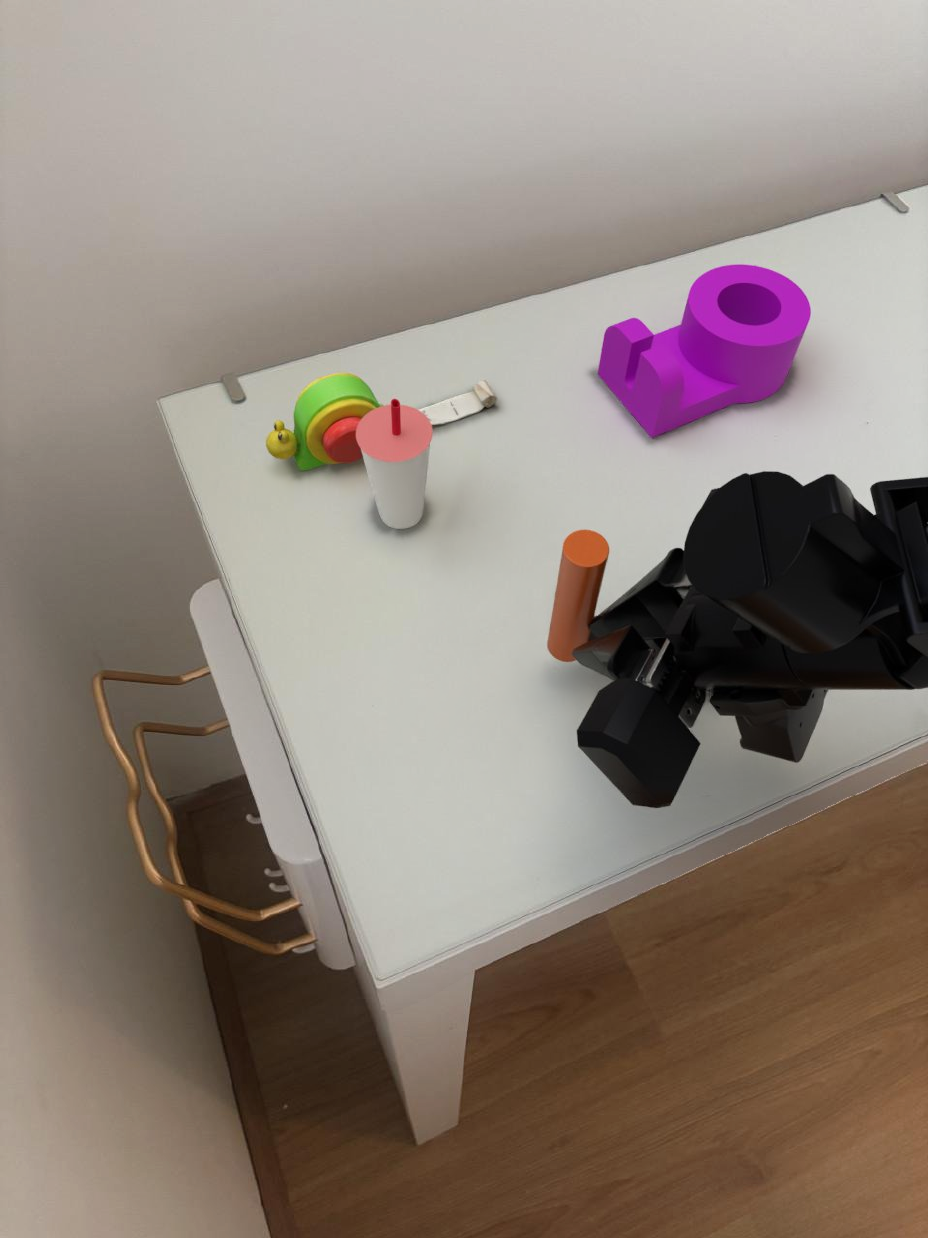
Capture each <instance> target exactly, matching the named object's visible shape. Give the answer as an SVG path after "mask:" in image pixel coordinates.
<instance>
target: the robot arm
mask: <svg viewBox="0 0 928 1238" xmlns="http://www.w3.org/2000/svg"><path fill="white" fill-rule="evenodd" d="M869 492H870V494H871V499H872V503H873V508H874V511H875V514H874V513H872V512H871V511H870V510H869V509H868V508H866V506H864V505H863V504H862V503H861V502H860V501H858V500H857V499H856V497H855V496H854V493H853V492H852V489H851V488H850V487H849V486H848V485H847V484H846V483H845V482H844V481H842V479H841V478H840V477H838V476H837V475H836V474H835V473H826V474H824V475H822V476H820V477H818V478H816V479H814V480H812V481H810V482H809V483H806V484H802V483H801V482H799V481H798V480H797V479H795V478H794V477H793V476H791V475H789V474H787V473H784V472H780V471H773V470H772V471H771V470H770V471H766V470H763V471H759V472H756V473H751V474H750V473H747V472H745V473H742V474H739V475H738V476H735V477H733V478H732V479H730V480H728V481H727V482H726V483H724V484H723V485H721V486H720V487H717V488H713V489H711V490H710V492H708V495H707V497H706V498H705V501H704V502H703V504H702V506H701V507H700V509H699V510H698V511H697V512H696V514H695V517H694V518H693V520H692V521H691V524H690V525H689V528H688V531H687V534H686V537H685V539H684V540H685V541H684V546H683V548H681V547H674V548H672V549H670V550H669V551H668V552H667V554H666V556H665V557H664V558H663V559H662V560H661V561H660V562H658V564H656V565H655V566H654V567H652V569H651V570H650V571H649V572H648V573H646V574H645V575H644V576H643V577H642V578H641V579H640V580H638V581H637V582H636V583H635V584H634V585H633V586H631V587H630V588H629V589H628V590H627V591H626V592H625V593H624V594H622V595H621V596H620V597H618V598H617V599H616V600H615V601H614V602H613V603H611V604H610V605H609V606H607V608H605V609H604V610H602V611H601V612H600V613H598V615H595V616H596V617H595V618H594V619H593V620H592V621H591V622H590V624H589V625H588V628H589V629H590V631H591V632H592V633H593V634H594V635H595V636H596V637H599V638H596V639H594V640H591V641H589V642H586V643H584V644H582V645H580V646H578V647H577V648H575V649H574V650H573V652H572V655H573V657H574V658H575V659H576V662H577V663H579V664H580V665H581V666H583V667H585V668H587V669H589V670H591V671H594V672H595V673H598V674H600V675H602V676H603V677H606V678H608V679H610V680H612V681H611V682H610V683H608V684H606V685H605V686H604V687H602V688H600V689H599V690H598V692H597V693H596V694H595V697H594V699H593V700H592V702H591V704H590V706H589V707H588V709H587V711H586V713H585V714H584V717H583V718H582V720H581V722H580V723H579V726H578V727H577V729H576V740H577V748H579V749H580V750H581V751H582V753H583V754H585V756H586V757H587V758H588V759H589V760H590V761H591V762H592V763H593V764H594V765H595V766H596V768H597V769H598V770H599V771H600V772H601V773H602V774H603V775H604V776H605V777H606V778H607V779H608V780H609V781H610V782H611V784H612V785H613V786H614V787H615V788H616V789H617V790H618V791H619V792H620V793H621V795H622V796H623V797H624V798H625V799H626V800H627V801H628V802H629V803H630V804H631V805H632V806H638V807H643V808H651V809H661V808H666V807H667V808H668V807H671V806H672V803H673V801H674V800H675V798H676V796H677V794H678V792H679V789H680V788H681V786H682V783H683V781H684V780H685V777H686V775H687V773H688V771H689V769H690V767H691V765H692V763H693V761H694V759H695V756H696V754H697V752H698V751H699V748H700V746H701V742H700V740H699V739H698V738H697V737H696V735H694V733H692V730H690V729H692V728H693V727H694V725H695V723H696V721H697V719H698V716H699V715H700V712H701V711H702V708H703V706H704V705H705V703H706V699H707V691H709V692H710V694H711V695H710V698H709V700H708V703H709V704H710V705H711V706H712V708H713V709H714V710H715V711H716V712H717V713H718V715H719V716H720V717H722V716H723V717H725V716H726V717H734V718H735V722H736V725H737V727H738V731H739V734H740V739H739V745H740V747H741V748H742V749H743V750H747V751H750V752H753V753H758V754H762V755H765V756H769V757H773V758H777V759H780V760H785V761H787V762H792V763H796V764H799V763H800V762H801V761H802V759H803V758H804V756H805V753H806V750H807V747H808V746H809V743H810V741H811V739H812V736H813V734H814V731H815V729H816V727H817V724H818V721H819V719H820V717H821V715H822V712H823V707H824V703H825V699H826V697H827V694H828V693H829V691H831V690H833V691H838V690H839V691H845V690H846V691H884V690H885V691H893V690H894V691H914V690H924V689H928V476H922V477H913V478H912V477H911V478H900V479H892V480H881V481H877V482H874V483H873V484H871V486H870V488H869ZM643 638H667V639H666V641H665V643H664V645H663V647H662V648H661V650H660V651H659V653H658V652H657V651H656V650H655V649H651V648H650V647H649V645H648V644H647V643H646V642H645V640H644V639H643ZM705 689H708V690H705Z"/></svg>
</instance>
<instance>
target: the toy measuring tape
mask: <svg viewBox="0 0 928 1238" xmlns="http://www.w3.org/2000/svg"><path fill="white" fill-rule="evenodd" d="M496 402H497V396H496V394H495V393H494V391H493V389H492V387H491V386H490V384H489V382H488V381H487V380H486V379H480V380H478V381H477V382H476V383H474V384H473V385H472V390H471V391H469V392H466V393H462V394H458V395H456V396H452V397H450V398H447V399H445V400H441V401H440V402H437V403H435V404H432V405H427V406H425V407H422V408H419V409H418V410H419V411H420V412H422V413H423V414H424V415H425V416H426V417H427V418H428V419H429V421H430V423H431V425H432V426H436V425H437V426H438V425H446V424H448V423H452V422H455V421H459V420H461V419H463V418H465V417H468V416H471V415H474V414H477V413H479V412H481V411H482V410H483V409H484V408H487V409H489V408H491V407H492V406H493V405H494V404H496ZM382 406H385V405H384V404H381V403H379V401H378V400H377V398H376V396H375V394H374V392H373V391H372V389H371V387H370V386H369V385H368V384H367V382H365V381H364V380H363V379H362V378H361V377H360V376H358V375H355V374H353V373H348V372H336V373H331V374H327V375H324V376H321V377H318V378H317V379H314V380H313V381H312V382H310V383H309V384H308V385H306V387H304V388H303V390H302V391H301V392H300V393H299V395H298V397H297V400H296V402H295V406H294V410H293V431H291V430H290V429H288V428H285V422H284V421H282V420H280V419H278V420H277V419H276V420H275V421H274V423H273V430H271V431H270V432H269V433H268V435H267V437H266V439H265V447H266V450H267V452H268V453H269V455H271V456H272V457H273V458H275V459H278V460H288V459H290V458H292V457H293V459H294V461H295V463H296V466H297V468H298V469H299V471H301V472H304V471H309V470H311V469H316V468H318V467H321V466H324V465H327V464H332V465H334V464H337V465H338V464H350V463H355V462H358V461H359V460H361V459H364V458H363V455H362V451H361V448H360V446H359V445H358V443H357V440H356V429H357V426H358V424H359V422H360V420H361V419H362V418H363V417H364V416H365V415H366V414H367V413H369V412H370V411H372V410H374V409H376V408H379V407H382Z"/></svg>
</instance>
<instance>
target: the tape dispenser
mask: <svg viewBox="0 0 928 1238" xmlns="http://www.w3.org/2000/svg"><path fill="white" fill-rule="evenodd" d="M811 314H812V309H811V304H810V301H809V298H808V297H807V295H806V294H805V292H804V291H803V290H802V288H801V287H800V286H799V285H798V284H797V283H796V282H795V281H793V280H792V279H790V278H789V277H788V276H785V275H784V274H782V273H780V272H778V271H775V270H773V269H770V268H767V267H763V266H759V265H753V264H743V263H741V264H740V263H739V264H726V265H721V266H718V267H714V268H712V269H710V270H707V271H705V272H704V273H702V274H700V275H699V276H698V277H697V278H696V279H695V280H694V282H693V283H692V284H691V286H690V289H689V291H688V295H687V299H686V303H685V307H684V310H683V315H682V319H681V322H680V324H678V325H675V326H673V327H671V328H668V329H665V330H663V331H660V332H657V333H655V334H654V333H653V332H652V331H651V330H650V329H649V328H648V327H647V325H646V324H645V323H644V322H643V321H642V320H641V319H639V318H637V317H630V318H627V319H625V320H622V321H620V322H616V323H615V324H612V325H610V326H608V327H607V328H606V329H605V331H604V334H603V340H602V346H601V351H600V357H599V361H598V362H599V364H598V369H597V375H598V376H599V378H600V379H601V380H602V381H603V382H604V383H605V385H606V386H607V387H608V388H609V389H610V391H611V392H612V393H613V394H614V395H615V397H616V398H617V399H618V400H619V401H620V402H621V403H622V405H623V406H624V407H625V408H626V410H627V411H628V412H629V413H630V414H631V415H632V416H633V418H634V419H635V420H636V421H637V422H638V424H639V425H640V426H641V427H642V428H643V429H644V431H645V432H646V433H647V434H648V436H649V437H650V438H651V439H653V438H655V437H657V436H658V437H659V436H660V435H662V434H665V433H667V432H670V431H672V430H674V429H677V428H679V427H681V426H684V425H686V424H688V423H691V422H693V421H696V420H698V419H701V418H703V417H705V416H707V415H710V414H713V413H714V412H717V411H720V410H723V409H724V408H727V407H729V406H731V405H734V404H750V403H756V402H759V401H762V400H765V399H767V398H770V396H771V397H772V395H774V394H776V393H777V392H778V391H779V390H780V389H781V388H782V386H783V385H784V383H785V381H786V379H787V377H788V374H789V372H790V369H791V367H792V364H793V362H794V358H795V357H796V355H797V352H798V350H799V348H800V345H801V342H802V340H803V337H804V335H805V332H806V330H807V328H808V325H809V323H810V320H811Z"/></svg>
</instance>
